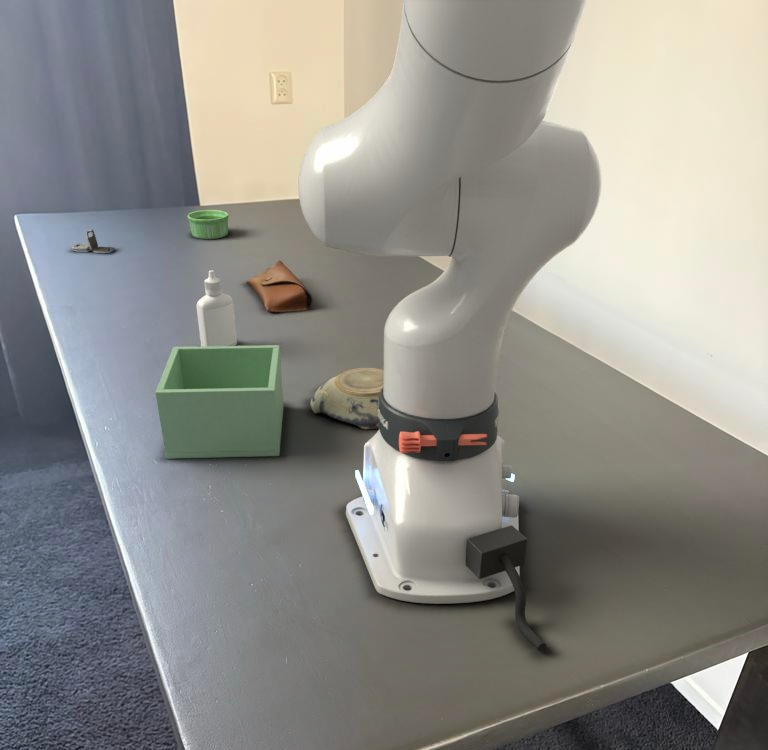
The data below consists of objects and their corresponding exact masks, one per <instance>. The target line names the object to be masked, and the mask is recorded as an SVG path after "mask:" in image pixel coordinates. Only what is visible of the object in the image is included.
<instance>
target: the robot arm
mask: <svg viewBox="0 0 768 750" xmlns="http://www.w3.org/2000/svg"><path fill="white" fill-rule="evenodd" d="M587 2H588V0H402V9H401V20H400V26H399V35H398V41H397V46H396V51H395V57H394V60H393V65H392V69H391V71H390V73H389V75H388V78H387V79H386V80H385V82H384V83H383V85H381V87H380V88H379V90H378V91H377V92H376V93H375V94H374V95H373V96H372V97H371V98H370V99H369V100H368V101H367V102H366V103H365V104H363V105H362V106H361V107H360V108H359V109H357V110H355V111H354V112H352V113H350V115H348V116H346V117H344V118H342V119H341V120H338V121H337V122H334V123H332V124H330V125H327V126H325V127H323V128H321V129H320V130H319V131H318V133H316V135H314V137H313V138H312V140H311V141H310V143H309V144H308V146H307V148H306V150H305V153H304V154H303V157H302V160H301V163H300V167H299V172H298V179H297V180H298V181H297V191H298V200H299V205H300V209H301V212H302V215H303V217H304V219H305V222H306V223H307V225H308V227H309V229H310V230H311V232H312V234H313V235H314V236H315V237H316V239H317V240H318V241H319V242H320V243H321V244H322V245H323V246H324V247H326V248H330V249H335V250H339V251H344V252H348V253H354V254H359V255H365V256H370V257H375V258H377V257H378V258H381V257H382V258H383V257H385V258H386V257H387V258H389V257H392V258H393V257H448V258H449V257H450V261H449V264H448V265H447V267H446V268H445V270H444V271H443V272H442V274H440V276H438V277H437V278H436V279H435V280H433V281H431V283H429V284H427V285H426V286H423V287H420V288H419V289H417V290H415V291H413V292H411V293H410V294H408V295H407V296H405V297H403V299H402V300H400V301H399V302H398V303H397V304H396V305H395V306H394V307H393V308H392V310H391V312H390V313H389V315H388V316H387V318H386V321H385V323H384V328H383V370H384V386H383V388H382V389H381V391H380V394H379V402H378V426H379V428H378V430H377V431H376V432H375V434H374V435H373V436H371V438H369V439H368V441H366V442H365V444H364V446H363V471H362V473H363V475H362V476H361V473H360V471H359V469H357V470H355V480H356V481H357V484H358V486H359V489H360V491H361V494H362V496H360V497H357V498H355V499H352V500H351V501H349V502H348V503H347V504H346V506H345V507H346V508H345V517H346V519H347V521H348V524H349V526H350V529H351V531H352V535H353V536H354V539H355V541H356V543H357V547H358V549H359V551H360V554H361V557H362V560H363V561H364V564H365V566H366V569H367V571H368V574H369V576H370V579H371V582H372V584H373V587H374V588H375V590H376V592H377V593H378V594H380V595H382V596H384V597H387V598H391V599H394V600H398V601H403V602H409V603H418V604H430V605H432V604H433V605H439V604H440V605H442V604H445V605H446V604H451V605H452V604H464V603H465V604H467V603H475V602H482V601H483V602H484V601H490V600H493V599H497V598H501V597H503V596H506V595H509V594H511V593H513V592H514V594H515V607H514V609H515V610H514V617H515V618H514V619H515V623H516V625H517V628H518V629H519V631H520V633H521V634H522V635H523V637H524V638H525V639H526V640H527V641H528V642H529V643H530V644H531V645H533V646H534V647H535V648H536V650H537V651H538V652H542V651H544V650H545V649H546V648H547V644H546V643H545V641H544V640H543V639H542V638H541V637H540V636H539V635H537V633H535V632H534V631H533V630H532V628H531V627H530V625H529V623H528V621H527V618H526V607H527V606H526V604H527V595H526V590H525V587H524V584H523V582H522V578H521V573H520V572H521V571H520V570H521V569H520V568H521V566H524V565H525V560H526V554H527V553H526V552H527V545H528V537H526V536H525V535H524V534H523V533H521V531H520V530H519V529H520V527H519V525H520V524H519V523H520V522H519V506H520V496H519V495H517V494H513V493H512V494H510V491H509V490H506V489H503V479H505V480H507V481H509V482H512V483H513V482H514V481H515V474H513V467H512V465H508V464H504V463H503V460H504V453H505V446H506V445H505V444H506V441H505V440H504V439H503V438H502V437H501V436H500V435H498V425H499V421H500V419H499V417H500V409H499V397H498V394H497V392H496V385H497V376H498V368H499V361H500V356H501V349H502V346H503V340H504V335H505V331H506V326H507V323H508V321H509V318H510V315H511V313H512V311H513V309H514V307H515V305H516V303H517V302H518V299H520V296H521V295H522V293H523V292H524V290H525V289H526V288H527V287H528V285H529V283H530V282H531V281H532V280H533V278H534V277H535V276H536V275H537V274H538V273H539V271H541V270H542V269H543V268H544V267H545V266H546V265H547V264H548V263H549V262H550V261H551V260H553V259H554V258H555V257H557V255H559V254H560V253H562V252H563V251H564V250H566V249H567V248H569V247H570V246H572V245H573V244H575V243H576V241H578V240H579V239H580V238H581V237H582V235H583V234H584V233H585V232H586V231H587V229H588V228H589V226H590V224H591V223H592V221H593V219H594V217H595V214H596V212H597V210H598V206H599V203H600V199H601V194H602V183H603V181H602V180H603V179H602V170H601V165H600V164H601V163H600V160H599V156H598V155H597V151H596V149H595V147H594V145H593V143H592V142H591V140H590V139H589V137H588V136H587V135H586V134H585V132H584V131H583V130H581V129H579V128H575V127H570V126H567V125H564V124H559V123H556V122H551V121H546V120H544V118H545V117H546V115H547V113H548V110H549V108H550V106H551V103H552V100H553V98H554V95H555V92H556V90H557V87H558V84H559V81H560V78H561V76H562V74H563V71H564V68H565V65H566V62H567V60H568V57H569V54H570V51H571V50H572V46H573V43H574V40H575V38H576V35H577V33H578V30H579V27H580V24H581V21H582V19H583V15H584V13H585V9H586V6H587Z"/></svg>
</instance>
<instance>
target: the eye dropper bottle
mask: <svg viewBox="0 0 768 750" xmlns="http://www.w3.org/2000/svg"><path fill="white" fill-rule="evenodd" d="M203 282H204V290H205V291H204V293H205V295H203V296H202V297H201V298H200V299H198V301H197V303H196V316H197V323H198V324H197V325H198V330H199V339H200V346H237V344H238V335H237V326H236V325H237V324H236V315H235V305H234V299H233V298H232V297H231V295H229V294H227V293H223V289H222V281H221V278H218V277H216V273H215V270H214V269H213V270H209V271H208V277H207V278H205V279H204V281H203Z"/></svg>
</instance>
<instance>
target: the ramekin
mask: <svg viewBox="0 0 768 750" xmlns="http://www.w3.org/2000/svg"><path fill="white" fill-rule="evenodd" d="M229 215H230V214H229V213H228V211H227V212H226V211H224V210H219V209H202V210H195V211H191V212H189V213H188V214H187V220H188V222H189V227H190V232H191V235H192V236H193V237H194V238H197V239H200V240H216V239H221V238H224V237H226V236H228V234H229Z"/></svg>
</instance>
